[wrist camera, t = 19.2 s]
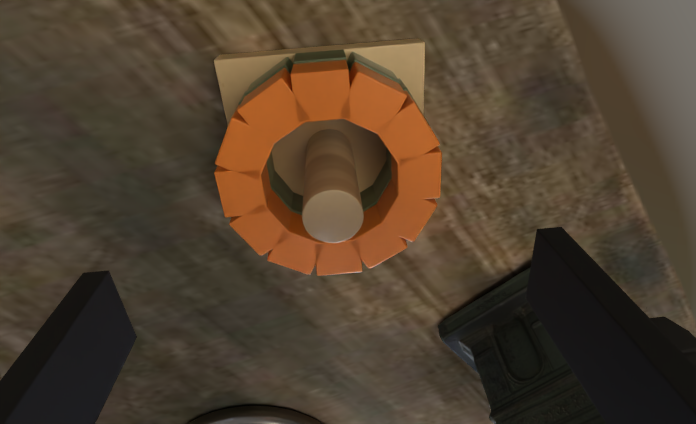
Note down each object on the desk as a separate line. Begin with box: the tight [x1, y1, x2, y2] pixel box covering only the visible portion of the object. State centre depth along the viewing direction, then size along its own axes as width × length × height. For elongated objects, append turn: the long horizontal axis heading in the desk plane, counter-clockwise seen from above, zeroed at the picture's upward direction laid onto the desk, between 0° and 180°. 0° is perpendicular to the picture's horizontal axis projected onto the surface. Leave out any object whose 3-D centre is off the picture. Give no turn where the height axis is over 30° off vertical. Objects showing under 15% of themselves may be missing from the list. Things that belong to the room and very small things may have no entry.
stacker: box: [214, 38, 429, 243], centre depth 20 cm, size 10×10×8 cm
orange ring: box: [214, 60, 442, 276], centre depth 20 cm, size 10×10×2 cm
